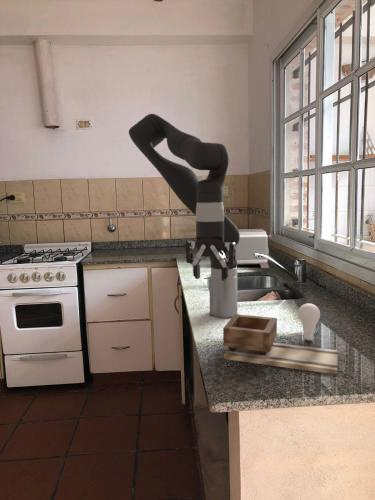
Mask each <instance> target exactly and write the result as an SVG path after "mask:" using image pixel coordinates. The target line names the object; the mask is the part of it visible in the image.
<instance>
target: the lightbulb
mask: <svg viewBox="0 0 375 500" xmlns="http://www.w3.org/2000/svg"><path fill="white" fill-rule="evenodd" d="M297 315H298V319H299V320H300V322H301V325H302V331H303V338H304V339H305V340H307V341H311V340H314V333H315V328H316V326H317V323H318V322H319V320H320V318H321V312H320V308H319V307H317V306H316V305H315V304H313V303H303V304H302V305H301V306H300V307H299V309H298V311H297Z"/></svg>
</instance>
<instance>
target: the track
mask: <svg viewBox="0 0 375 500" xmlns="http://www.w3.org/2000/svg"><path fill="white" fill-rule="evenodd" d="M338 352H339V350H338V349H329V348H323V347H322V348H321V347H313V346H303V345H296V344H290V343H289V344H288V343H287V344H286V343H279V342H274V343H273V345H272V347H271V350H270V352H267V353H266V354H265V355H261V354H260V353H259V351H257V350H249V349H241V348H236V350H235V351H230V350H229V347H227V349H225V351H224V353H223V360H229V361H236V362H244V363H252V364H257V365H258V364H260V365H264V366H265V365H266V366H272V367H281V368H285V369H286V368H288V369H292V370H293V369H294V370H302V371H308V372H316V373H322V374H323V373H324V374H329V375H330V374H331V375H335V376H337V375H338V362H339V361H338V354H339V353H338Z"/></svg>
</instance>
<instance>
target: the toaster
mask: <svg viewBox="0 0 375 500" xmlns="http://www.w3.org/2000/svg"><path fill="white" fill-rule="evenodd" d="M238 231H239V234H240V239H239V242H238V244H237V245H236V259H237V265H259V266H260V268H261V269H269V268H270V266H269V264H268V258H267V259H266V258H264V257H261V256H259V257H258V258H255V257H254V255H253V253H259V254H264V255H267V256H268V255H269V252H270V250H269V249H270V248H269V247H268V246H269V243H268V242H269V241H268V239H272V235H271V234H268V235H267V231H266V230H264V229H263V228H254V229H253V228H252V229H251V228H250V229H249V228H247V229H244V228H243V229H242V228H241V229H238Z"/></svg>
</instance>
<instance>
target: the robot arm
mask: <svg viewBox="0 0 375 500" xmlns="http://www.w3.org/2000/svg"><path fill="white" fill-rule="evenodd" d="M128 136H129V138H130V139H131V141H132V142H133V144H134V145H135V146H136V148H137V149H139V151H140V152H141V153H142V154H143V156H145V158H146V160H147V161H149V163H150V164H152V166H153V167H154V168H155V169H156V170H157V171H158V173H159V174H160V175H161V176H162V178H163V180H165V182H166V183H167V185H168V186H169V187H170V189H171V191H172V192H173V193H174V194H175V195H176V197H177V198H178V199H179V201H180V202H181V203H182V204H183V205H184V206H185V207H186V208H187V209H188V210H189V211H190V212H191V213H192V214H193V215H195V230H196V231H195V233H196V234H195V235H196V239H195V240H194V241H193V240H188V241H186V242H185V244H184V246H185V260H186V261H185V262H186V263H187V264H191V265H192V274H193V277H194V279H196V280H199V279H200V278H201V264H200V263H201V261H202V259H203V258H204V257H205V258H207V257H209V260H210V261H209V262H210V283H211V284H210V285H211V286H210V287H211V288H209V291H208V292H209V316H213V317H215V318H222V319H225V318H226V319H227V318H232V317H233V316H234V314H238V264H237V259H236V245H237V244H238V242H239V239H240V234H239V231H238V230H239V229H238V227H237V226H236V224H235V223H233V222H232V220H231V219H230V218H229V217H228V216H227V215H226V214H225V210H224V209H225V207H224V184H225V180H226V177H227V176H226V175H227V171H228V167H229V163H230V155H229V151H228V148H227V147H226V145H224V144H222V143H218V142H217V143H216V142H203V141H202V140H201V139H200V138H199V137H197V136H195V135H192V134H189V133H186V132H184V131H182V130H180V129H179V128H178V127H175V126H174V125H172V124H171V123H170V122H169V121H167V120H166V119H164V118H162V117H161V116H159V115H158V114H155V113H149V114H147V115H145V116H144V117H143V118H142V119H140V120H139V121H137V122H136V123H135V124H134V125H132V126H131V127H130V128H129V129H128ZM165 139H166V144H167V148H168V150H169V152H170V153H171V154H173V156H175V157H176V158H178V159H180V160H183V161H185V162H186V163H187V164H188V166H190V167H191V168H189V167H187V166H185V165H183V164H180V163H177V162H174V161H172V160H170V159H168V158H165V157H164V156H162V154H160V153H159V152H158V151H157V150H156V149H155V148H156V147H157V146H158V145H159V144H161V143H162V142H164V140H165ZM192 169H195V170H197V171H198V170H199V171H209V172H208V175H207V177H206V178H204V179H200V178H199V177H198V175H197V174H196V173H195V172H194V170H192ZM195 247H196V248H197V250H198V251H197V253H196V255H195V258H194V249H195Z"/></svg>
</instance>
